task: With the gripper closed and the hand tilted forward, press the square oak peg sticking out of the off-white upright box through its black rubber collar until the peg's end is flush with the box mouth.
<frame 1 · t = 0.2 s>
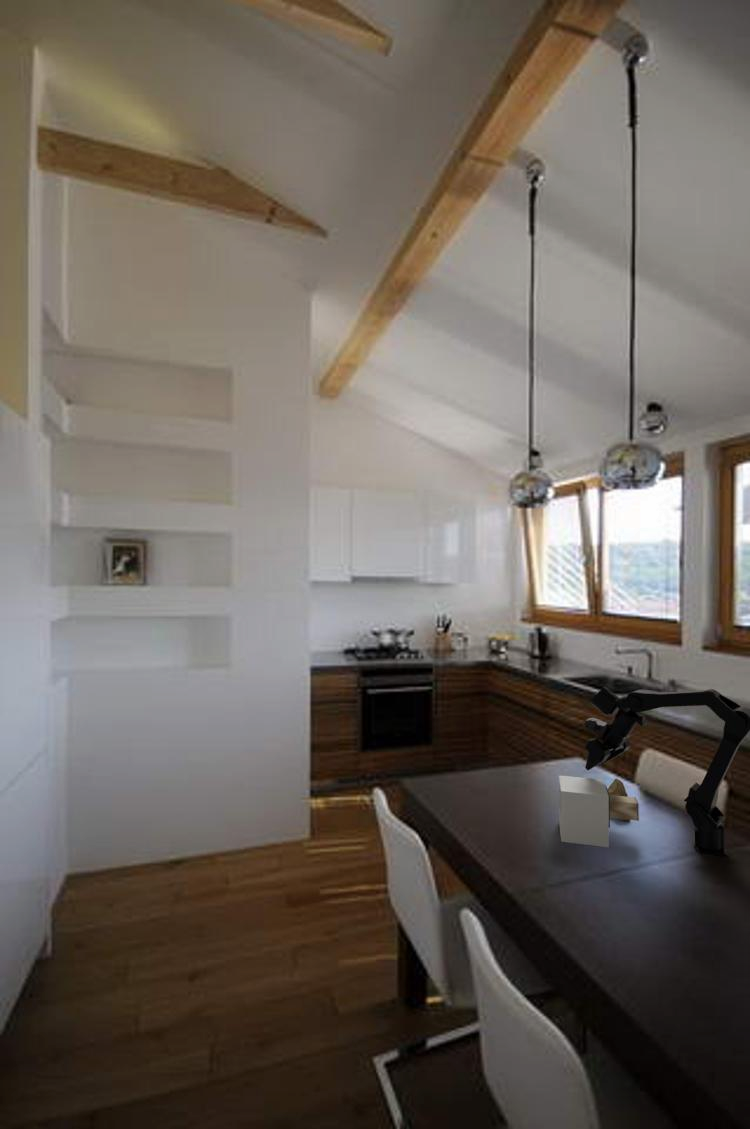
hand: (593, 766, 172), 15 cm above the table, tool tilted 30°, fingers open, 9 cm apart
rock: (614, 815, 173), on the table
off-white upright box: (582, 834, 159), on the table
peg: (613, 806, 157), point 8 cm above the table, slide at 0.0 cm
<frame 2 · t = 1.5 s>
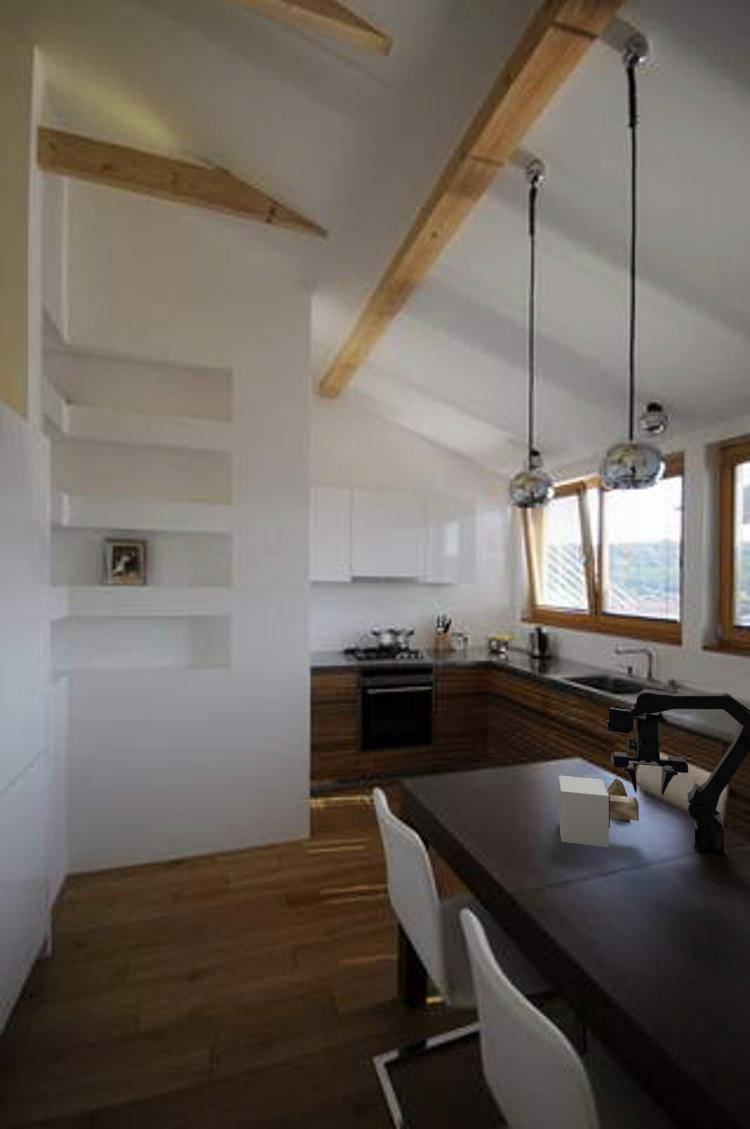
hand: (648, 793, 158), 12 cm above the table, tool pointing down, fingers open, 6 cm apart
nothing on the table moved.
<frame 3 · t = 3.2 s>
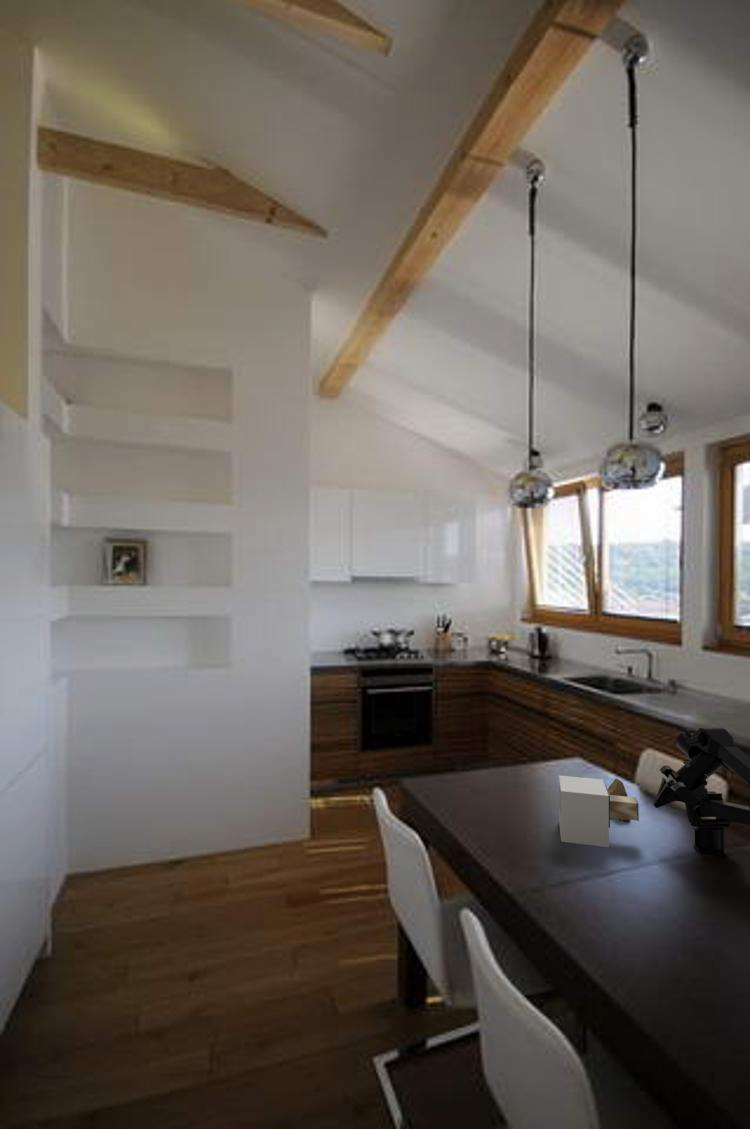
hand: (654, 806, 154), 10 cm above the table, tool tilted 45°, fingers closed
nothing on the table moved.
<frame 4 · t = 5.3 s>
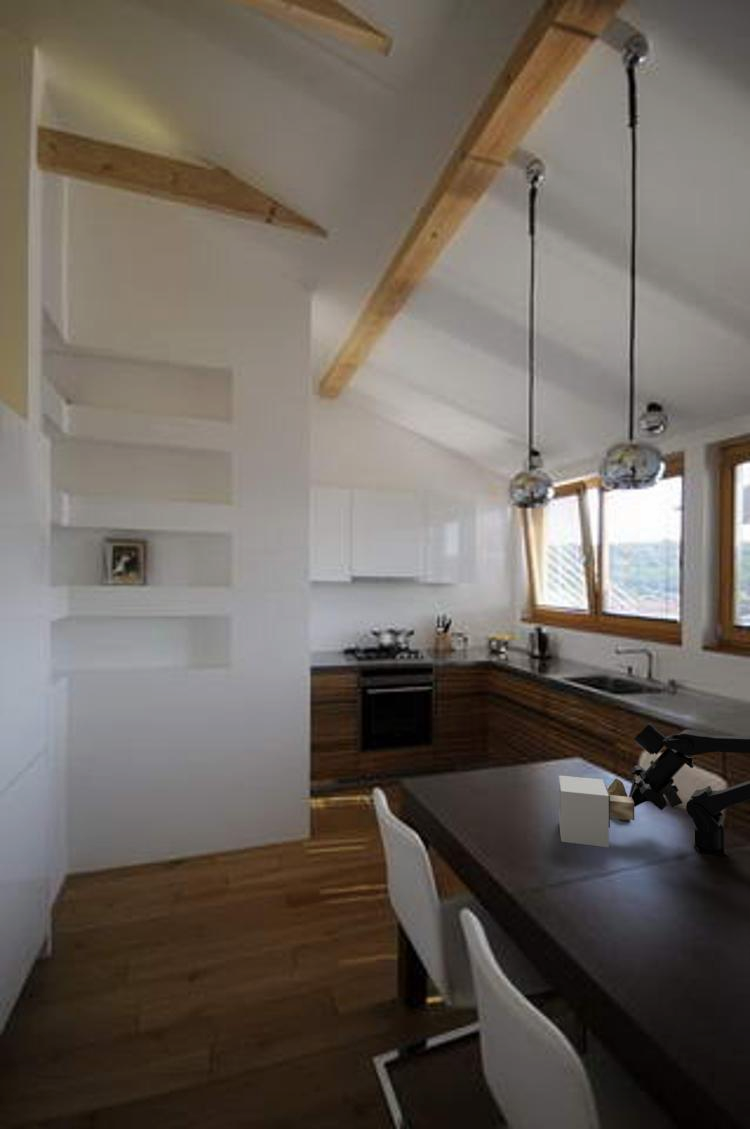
hand: (627, 808, 160), 7 cm above the table, tool tilted 40°, fingers closed
peg: (609, 806, 157), point 8 cm above the table, slide at 1.1 cm, touching gripper
everything else where it was.
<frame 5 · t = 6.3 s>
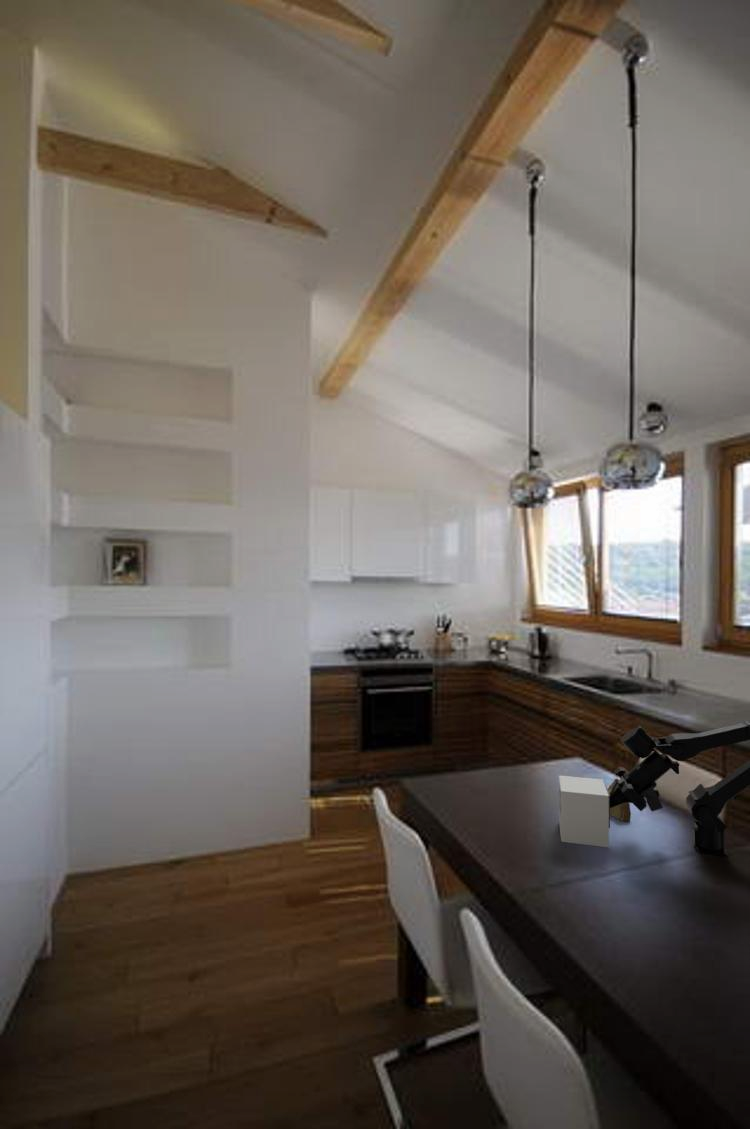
hand: (606, 807, 158), 8 cm above the table, tool tilted 45°, fingers closed, pressing on peg
peg: (582, 803, 159), point 8 cm above the table, slide at 8.0 cm, touching gripper
everything else where it was.
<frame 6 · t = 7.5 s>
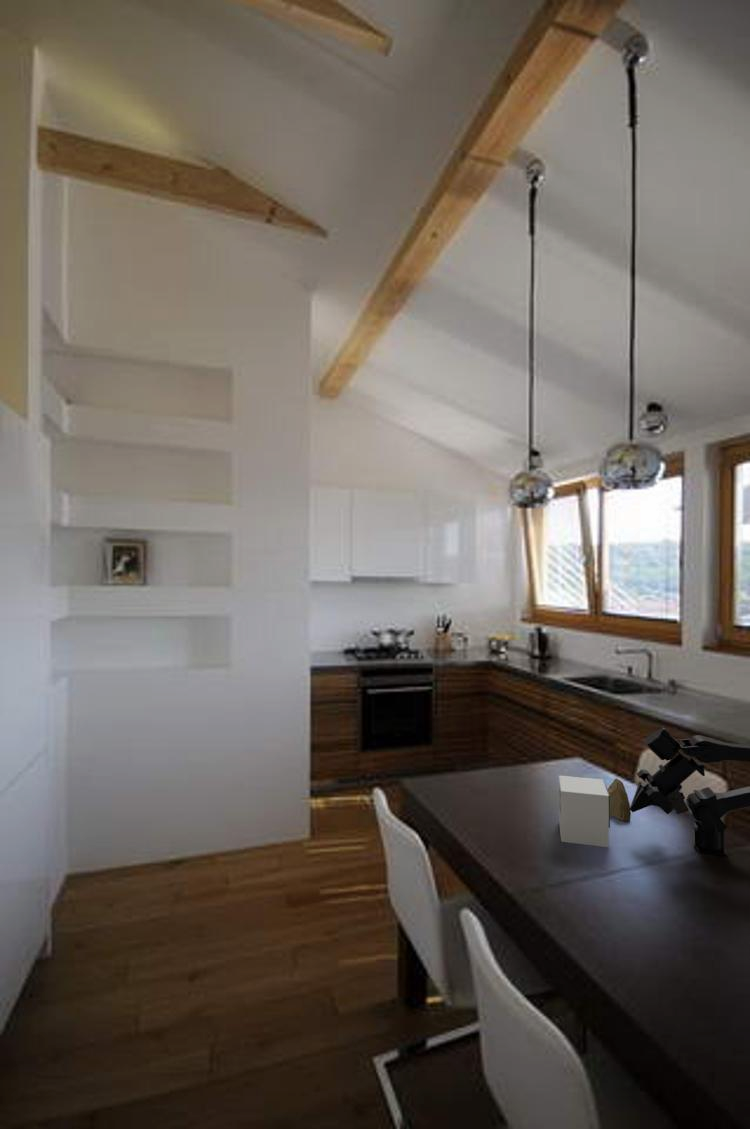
hand: (631, 810, 156), 8 cm above the table, tool tilted 45°, fingers closed
peg: (582, 803, 159), point 8 cm above the table, slide at 8.0 cm
everything else where it was.
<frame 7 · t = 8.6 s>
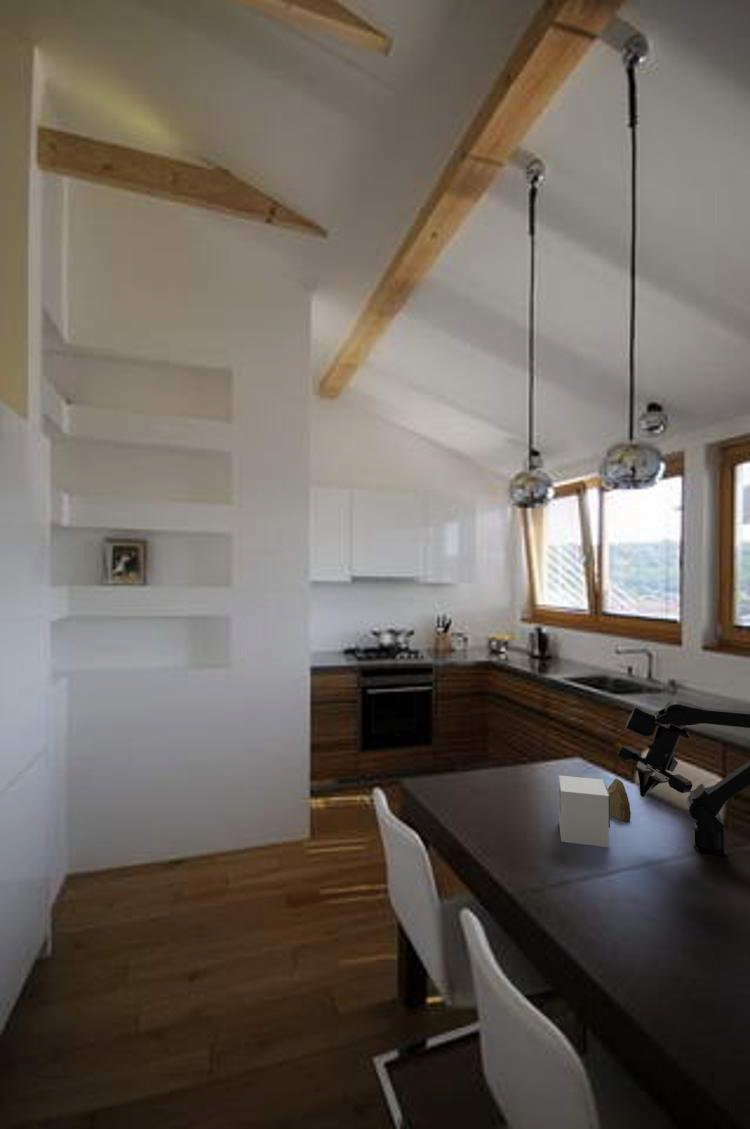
hand: (642, 796, 157), 11 cm above the table, tool tilted 20°, fingers closed
nothing on the table moved.
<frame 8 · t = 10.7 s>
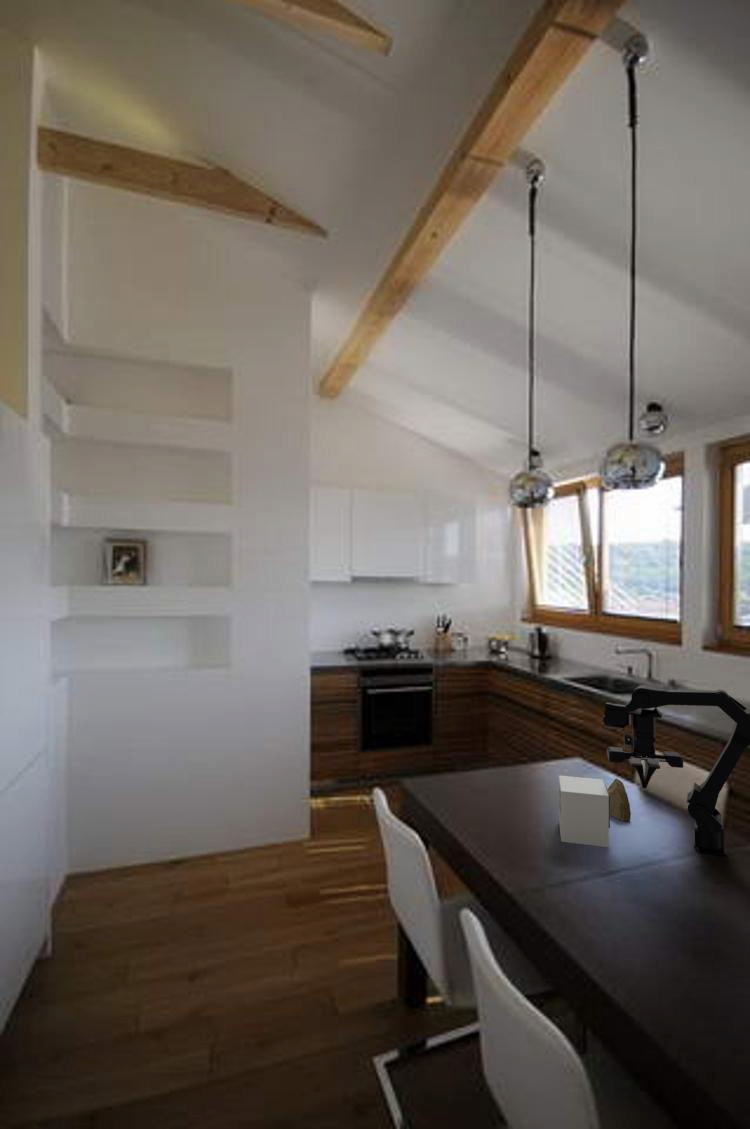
hand: (644, 788, 159), 13 cm above the table, tool pointing down, fingers closed
nothing on the table moved.
at the end: peg slide at 8.0 cm; peg touching nothing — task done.
